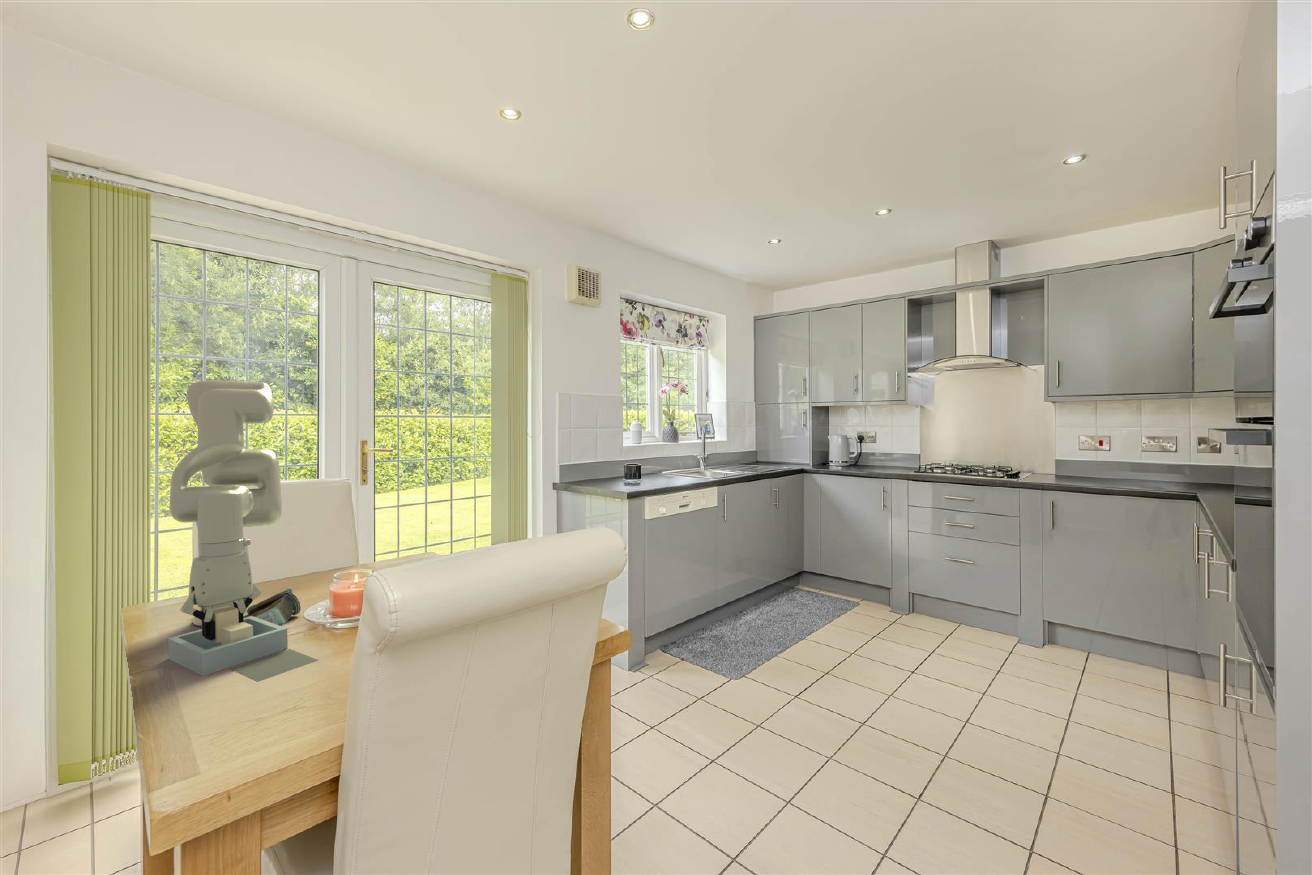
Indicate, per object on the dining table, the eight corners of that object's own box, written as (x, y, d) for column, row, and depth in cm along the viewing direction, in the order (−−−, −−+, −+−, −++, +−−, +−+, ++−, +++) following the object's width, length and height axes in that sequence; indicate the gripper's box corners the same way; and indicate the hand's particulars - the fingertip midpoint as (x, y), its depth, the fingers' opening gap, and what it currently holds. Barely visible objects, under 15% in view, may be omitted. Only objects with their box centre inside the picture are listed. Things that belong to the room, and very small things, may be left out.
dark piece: (229, 630, 132) (263, 596, 131) (243, 611, 139) (276, 579, 138) (266, 651, 136) (300, 619, 135) (278, 632, 142) (311, 601, 141)
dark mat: (229, 669, 111) (229, 668, 111) (289, 650, 120) (289, 648, 120) (257, 683, 105) (257, 681, 105) (318, 661, 114) (318, 659, 114)
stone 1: (207, 639, 118) (207, 610, 118) (229, 633, 122) (229, 605, 122) (216, 642, 116) (216, 614, 116) (238, 636, 120) (238, 608, 120)
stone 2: (221, 656, 115) (221, 627, 115) (244, 650, 119) (243, 621, 119) (231, 661, 113) (230, 631, 113) (253, 654, 117) (252, 625, 117)
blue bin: (168, 659, 115) (167, 638, 115) (252, 635, 128) (251, 615, 128) (202, 677, 107) (201, 653, 107) (287, 649, 121) (287, 628, 120)
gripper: (257, 539, 128) (258, 619, 128) (163, 554, 113) (165, 645, 114) (274, 543, 124) (275, 625, 124) (179, 559, 109) (182, 652, 110)
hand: (223, 634), depth 119 cm, fingers open, 4 cm apart
